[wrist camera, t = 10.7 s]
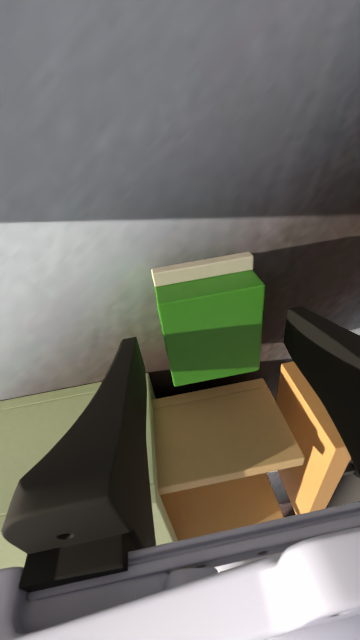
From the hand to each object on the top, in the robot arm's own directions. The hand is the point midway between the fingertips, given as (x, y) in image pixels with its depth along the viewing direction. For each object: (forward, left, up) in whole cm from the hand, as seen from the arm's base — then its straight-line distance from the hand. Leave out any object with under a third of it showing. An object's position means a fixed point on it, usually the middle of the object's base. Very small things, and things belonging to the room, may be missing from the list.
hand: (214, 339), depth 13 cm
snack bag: (0, 0, -3) cm, 3 cm away
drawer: (-11, +3, -2) cm, 12 cm away
